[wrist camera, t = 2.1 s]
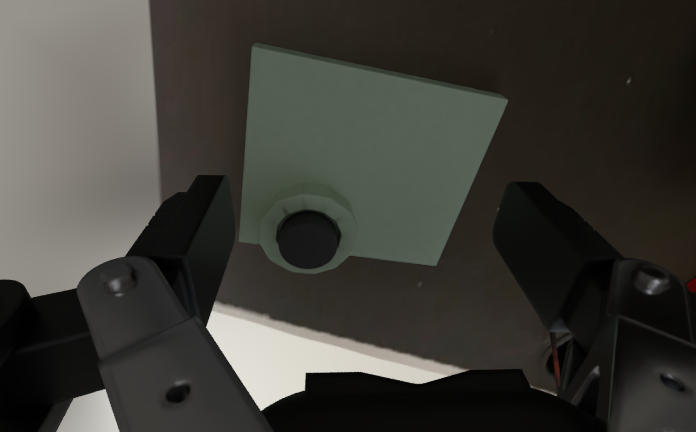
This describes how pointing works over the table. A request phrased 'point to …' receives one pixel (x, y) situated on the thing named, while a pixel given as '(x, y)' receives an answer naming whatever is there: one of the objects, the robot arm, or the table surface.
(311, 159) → the scale
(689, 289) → the book
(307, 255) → the button
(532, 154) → the table surface
